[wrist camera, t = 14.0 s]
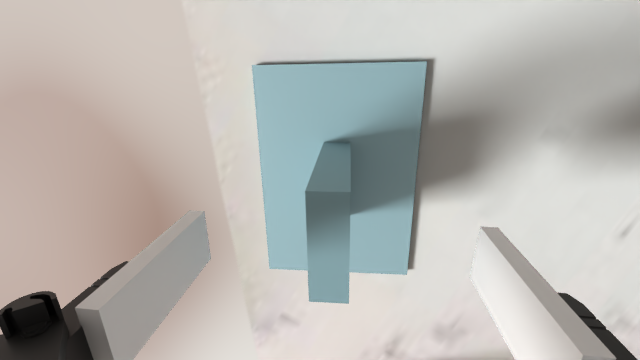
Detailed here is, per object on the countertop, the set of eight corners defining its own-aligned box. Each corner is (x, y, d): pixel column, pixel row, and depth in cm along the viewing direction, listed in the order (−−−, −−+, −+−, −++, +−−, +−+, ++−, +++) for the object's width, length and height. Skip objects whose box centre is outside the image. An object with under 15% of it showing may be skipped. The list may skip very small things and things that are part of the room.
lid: (256, 65, 22) (174, 59, 12) (423, 61, 21) (493, 51, 11) (272, 262, 28) (226, 373, 18) (405, 267, 27) (439, 389, 16)
